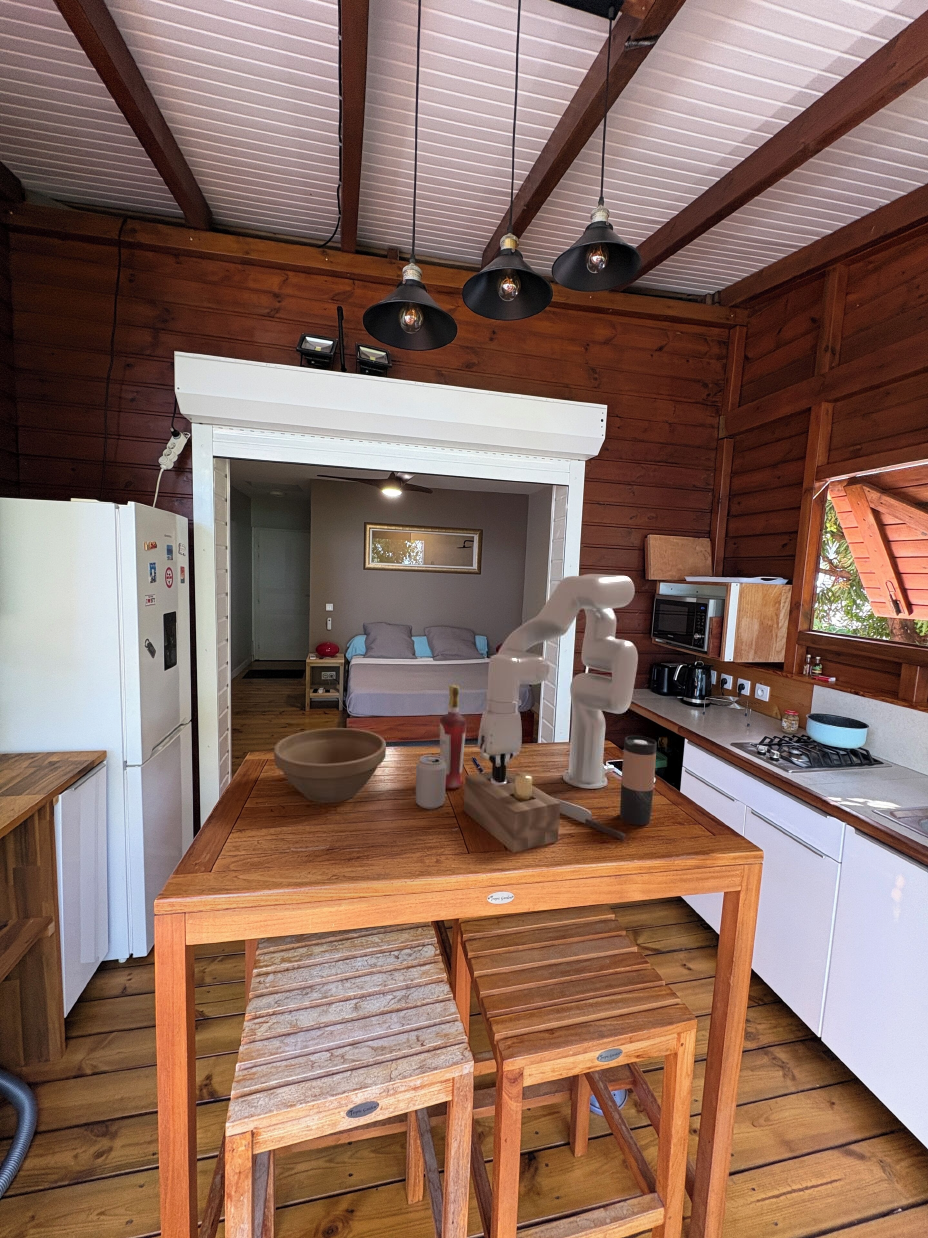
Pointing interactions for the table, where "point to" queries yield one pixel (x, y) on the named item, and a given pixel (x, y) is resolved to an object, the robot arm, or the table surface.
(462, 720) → the liquor
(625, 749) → the travel mug
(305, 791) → the brown mixing bowl
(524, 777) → the brass peg
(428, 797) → the can
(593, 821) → the kitchen knife
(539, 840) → the socket block
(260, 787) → the table surface
